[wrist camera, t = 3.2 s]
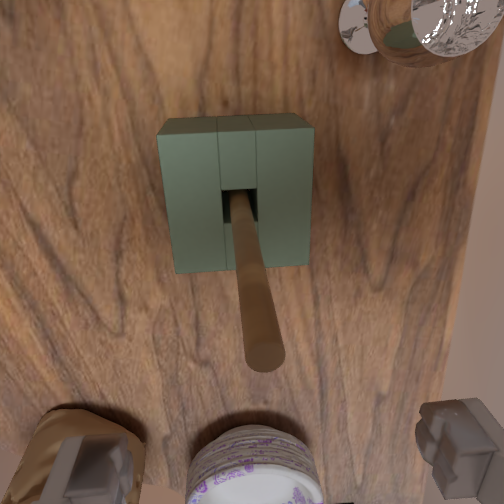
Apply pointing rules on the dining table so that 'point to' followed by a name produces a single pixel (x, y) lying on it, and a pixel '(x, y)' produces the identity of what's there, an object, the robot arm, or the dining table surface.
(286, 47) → the dining table surface
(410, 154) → the dining table surface
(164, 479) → the dining table surface
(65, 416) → the container
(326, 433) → the dining table surface
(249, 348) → the stirring stick
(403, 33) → the wineglass
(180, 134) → the stick stand
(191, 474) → the paper bowls
